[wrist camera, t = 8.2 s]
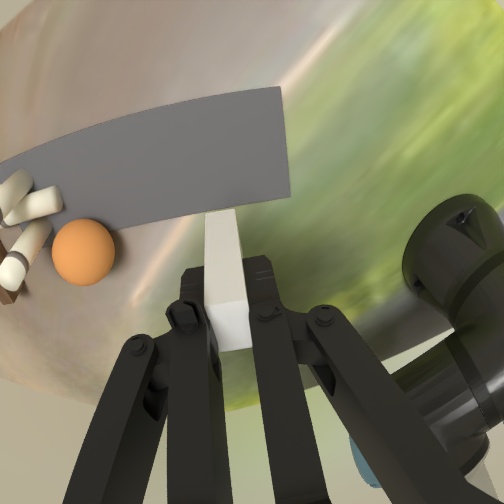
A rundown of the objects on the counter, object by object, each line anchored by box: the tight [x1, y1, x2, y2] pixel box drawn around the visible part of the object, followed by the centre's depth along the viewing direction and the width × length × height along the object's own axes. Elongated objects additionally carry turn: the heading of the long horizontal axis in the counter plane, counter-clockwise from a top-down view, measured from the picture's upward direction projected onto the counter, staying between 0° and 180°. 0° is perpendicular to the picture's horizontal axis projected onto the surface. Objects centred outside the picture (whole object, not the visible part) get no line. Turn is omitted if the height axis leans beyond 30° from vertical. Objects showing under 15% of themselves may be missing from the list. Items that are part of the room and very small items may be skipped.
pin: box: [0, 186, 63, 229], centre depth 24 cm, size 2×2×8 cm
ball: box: [52, 219, 115, 286], centre depth 26 cm, size 6×6×6 cm
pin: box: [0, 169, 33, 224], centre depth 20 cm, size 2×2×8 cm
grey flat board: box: [0, 86, 291, 248], centre depth 25 cm, size 27×10×1 cm, turn 97°
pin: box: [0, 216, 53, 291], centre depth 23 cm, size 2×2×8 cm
